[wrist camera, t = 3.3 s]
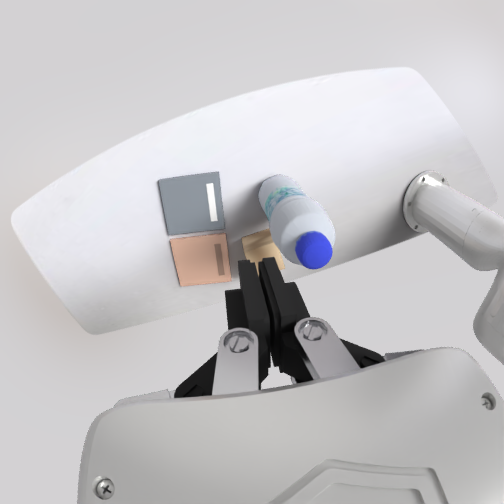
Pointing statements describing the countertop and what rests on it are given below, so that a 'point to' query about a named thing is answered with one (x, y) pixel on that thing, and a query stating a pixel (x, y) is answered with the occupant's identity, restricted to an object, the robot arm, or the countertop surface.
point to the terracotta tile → (201, 259)
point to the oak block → (261, 248)
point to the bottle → (297, 222)
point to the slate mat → (192, 203)
